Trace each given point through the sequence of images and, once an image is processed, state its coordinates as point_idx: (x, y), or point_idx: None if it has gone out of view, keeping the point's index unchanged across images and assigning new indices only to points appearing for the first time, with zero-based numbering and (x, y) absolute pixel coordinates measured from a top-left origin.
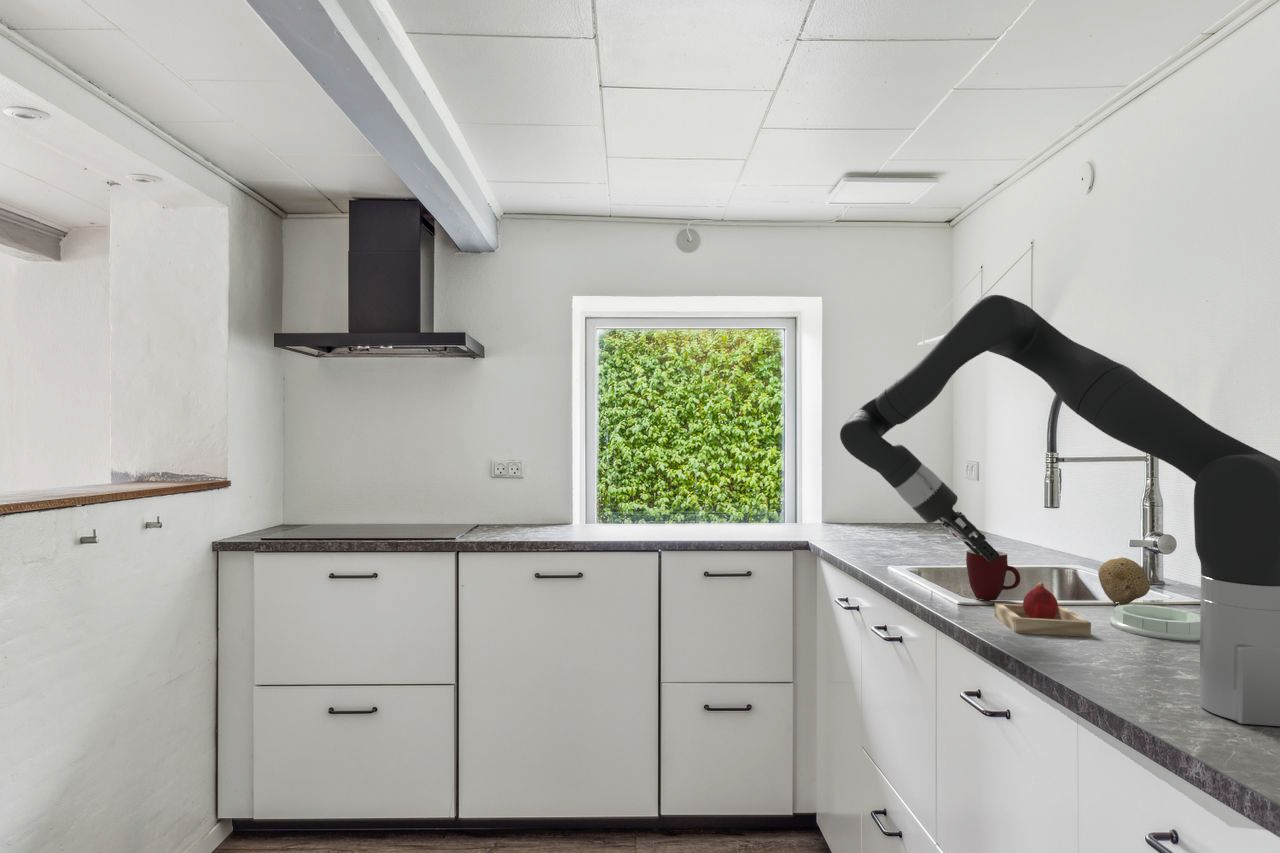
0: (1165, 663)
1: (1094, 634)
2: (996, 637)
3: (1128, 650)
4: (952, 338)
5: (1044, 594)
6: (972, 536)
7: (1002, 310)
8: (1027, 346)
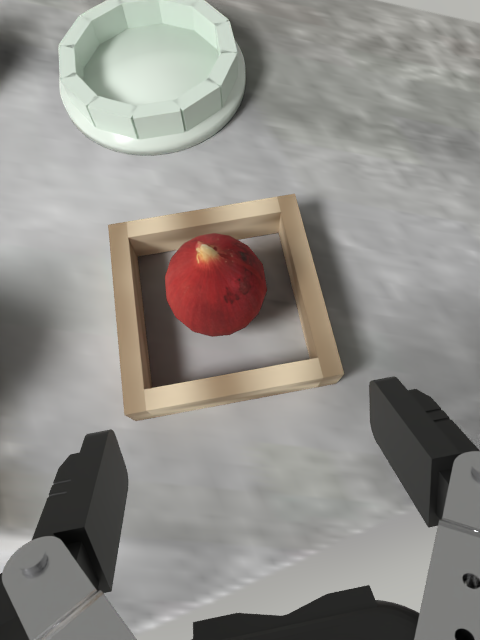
0: (458, 130)
1: None
2: None
3: (385, 169)
4: None
5: (245, 258)
6: (89, 523)
7: None
8: None
